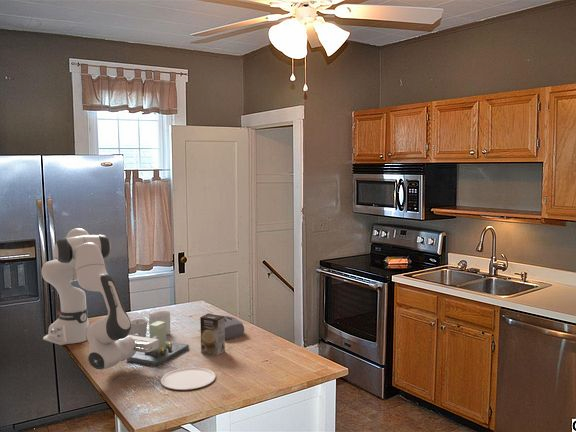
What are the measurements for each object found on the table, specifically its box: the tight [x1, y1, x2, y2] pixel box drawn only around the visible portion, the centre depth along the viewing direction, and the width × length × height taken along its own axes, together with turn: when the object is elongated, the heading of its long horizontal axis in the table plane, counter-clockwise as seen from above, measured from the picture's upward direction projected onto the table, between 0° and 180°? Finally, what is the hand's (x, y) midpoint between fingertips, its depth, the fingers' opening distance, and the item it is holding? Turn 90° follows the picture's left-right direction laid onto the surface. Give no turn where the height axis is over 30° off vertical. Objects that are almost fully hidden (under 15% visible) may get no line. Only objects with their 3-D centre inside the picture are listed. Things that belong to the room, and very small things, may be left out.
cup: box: [128, 318, 148, 337], centre depth 251 cm, size 11×8×8 cm
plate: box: [160, 366, 217, 391], centre depth 202 cm, size 21×21×1 cm
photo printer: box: [148, 309, 171, 336], centre depth 255 cm, size 10×4×12 cm, turn 123°
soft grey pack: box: [224, 315, 245, 340], centre depth 257 cm, size 15×8×20 cm
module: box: [148, 321, 167, 353], centre depth 228 cm, size 4×6×12 cm
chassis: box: [126, 340, 190, 368], centre depth 229 cm, size 16×22×5 cm
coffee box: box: [199, 313, 226, 356], centre depth 231 cm, size 9×6×16 cm
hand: (147, 336), depth 221 cm, fingers open, 8 cm apart
